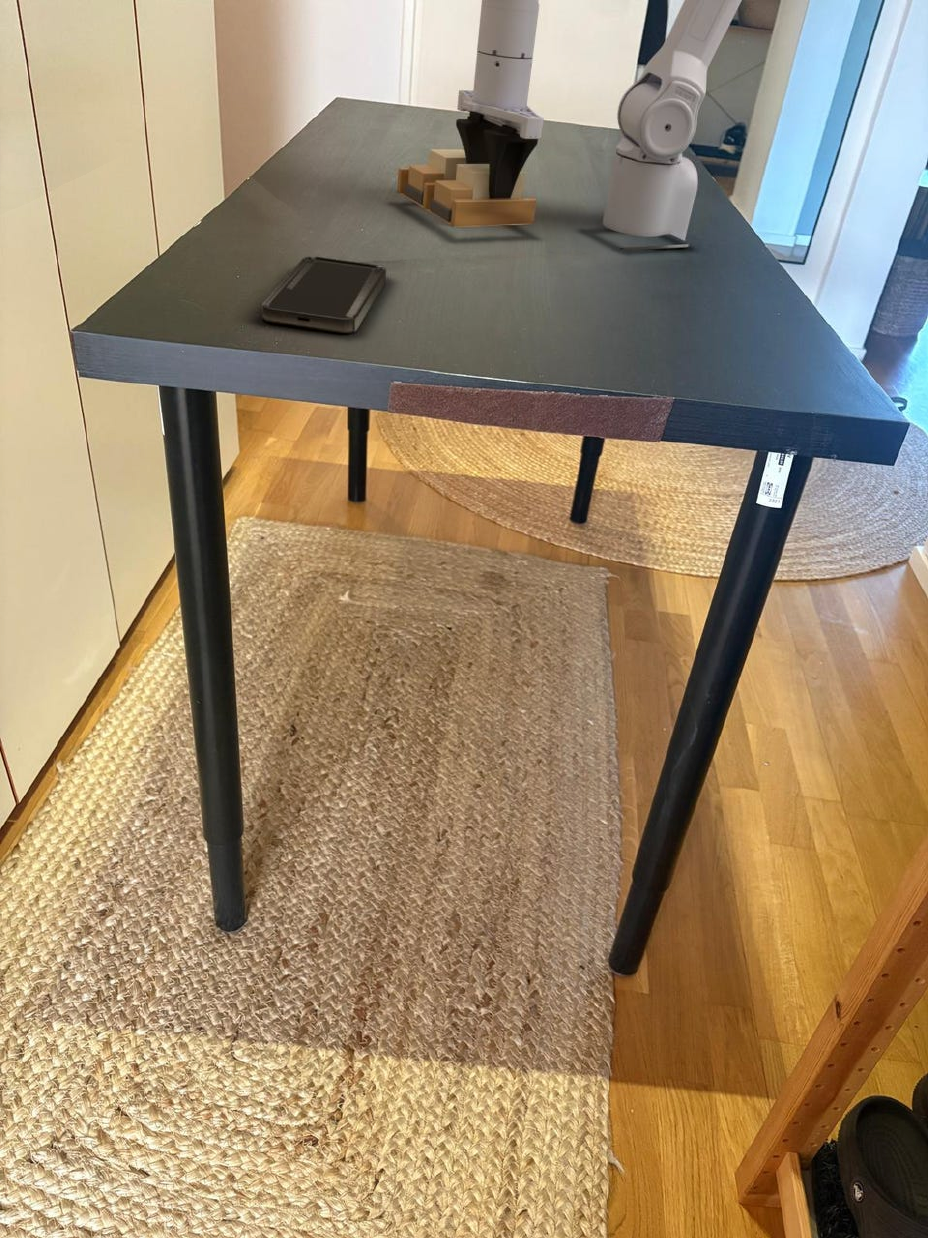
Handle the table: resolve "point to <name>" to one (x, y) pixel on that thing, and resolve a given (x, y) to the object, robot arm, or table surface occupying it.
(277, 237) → the table surface
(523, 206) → the wooden compartment tray
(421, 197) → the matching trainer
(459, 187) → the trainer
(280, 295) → the phone
